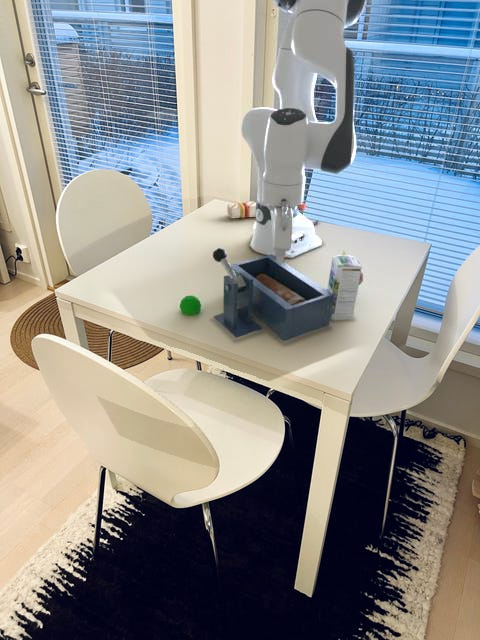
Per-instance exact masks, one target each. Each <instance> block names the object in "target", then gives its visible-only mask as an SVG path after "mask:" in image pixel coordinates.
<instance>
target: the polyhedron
mask: <svg viewBox="0 0 480 640" xmlns="http://www.w3.org/2000/svg"><path fill="white" fill-rule="evenodd" d="M179 308H180V311H181V313H182V314H183V315H185V316H195V315H198V314H199V313H200V311H201V308H202V303H201V300H200V299H199V297H197V296H195V295H185V296H184V297H183V298H182V299H181V300H180V303H179Z"/></svg>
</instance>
